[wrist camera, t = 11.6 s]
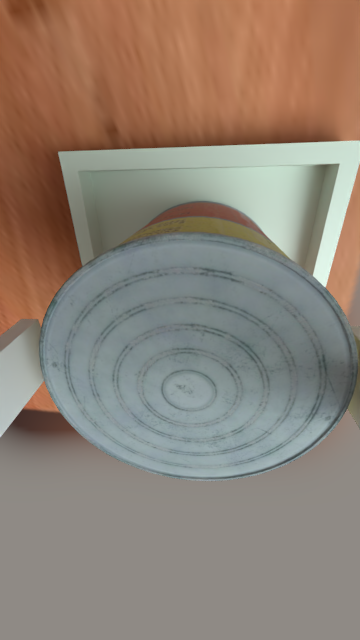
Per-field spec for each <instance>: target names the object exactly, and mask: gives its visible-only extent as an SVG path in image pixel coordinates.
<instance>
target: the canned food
mask: <svg viewBox="0 0 360 640" xmlns="http://www.w3.org/2000/svg"><path fill="white" fill-rule="evenodd" d="M39 359H40V367H41V371H42V375H43V379H44V381H45V384H46V387H47V389H48V391H49V393H50V396H51V398H52V400H53V401H54V403H55V405H56V406H57V408H58V409H59V411H60V412H61V413H62V415H63V416H64V417H65V419H66V420H67V421H68V422H69V423H70V424H71V425H72V427H73V428H74V429H75V430H76V431H77V432H78V433H80V434H81V435H82V436H83V437H84V438H85V439H87V440H88V441H89V442H90V443H92V444H93V445H95V446H96V447H97V448H99V449H100V450H102V451H104V452H105V453H106V454H108V455H110V456H112V457H114V458H116V459H117V460H120V461H122V462H124V463H126V464H128V465H131V466H133V467H136V468H138V469H141V470H144V471H148V472H150V473H154V474H158V475H162V476H167V477H171V478H178V479H185V480H198V481H220V480H231V479H237V478H238V479H239V478H244V477H250V476H254V475H258V474H261V473H265V472H268V471H271V470H274V469H276V468H279V467H281V466H284V465H286V464H288V463H290V462H292V461H294V460H296V459H298V458H299V457H301V456H303V455H304V454H306V453H307V452H309V451H310V450H312V449H313V448H314V447H316V446H317V445H318V444H319V443H320V442H321V441H322V440H324V439H325V438H326V437H327V436H328V434H329V433H330V432H331V431H332V430H333V429H334V428H335V426H336V425H337V424H338V423H339V421H340V420H341V418H342V417H343V415H344V413H345V412H346V410H347V408H348V406H349V404H350V401H351V399H352V397H353V394H354V390H355V386H356V382H357V374H358V354H357V347H356V342H355V338H354V335H353V332H352V329H351V326H350V324H349V322H348V320H347V318H346V315H345V314H344V312H343V310H342V309H341V307H340V306H339V304H338V303H337V301H336V300H335V299H334V297H333V296H332V295H331V294H330V293H329V291H328V290H327V289H326V288H325V287H324V286H323V285H322V284H321V283H320V282H319V281H318V280H317V279H316V278H315V277H314V276H312V275H311V274H310V273H309V272H308V271H306V270H305V269H304V268H302V267H301V266H300V265H298V264H297V263H295V262H294V261H292V260H291V259H290V258H289V257H288V256H287V255H286V254H285V253H284V252H283V251H282V250H281V249H280V248H279V247H278V246H277V245H276V244H275V243H274V242H272V241H271V240H270V239H269V238H268V237H267V236H266V235H265V234H264V232H263V231H262V230H261V228H260V227H259V226H258V225H257V224H256V223H255V222H254V221H253V220H252V219H251V218H250V217H248V216H247V215H246V214H244V213H243V212H241V211H239V210H238V209H236V208H233V207H231V206H229V205H225V204H222V203H218V202H212V201H193V202H187V203H182V204H179V205H176V206H173V207H171V208H169V209H167V210H165V211H164V212H162V213H160V214H159V215H157V216H156V217H155V218H154V219H152V220H151V221H150V222H149V223H148V224H147V225H146V226H144V227H143V228H142V229H140V230H139V231H137V232H136V233H134V234H133V235H132V236H130V237H129V238H127V239H126V240H125V241H123V242H122V243H120V244H119V245H117V246H116V247H114V248H111V249H109V250H107V251H105V252H103V253H102V254H100V255H98V256H97V257H95V258H93V259H92V260H90V261H89V262H87V263H86V264H85V265H84V266H82V267H81V268H80V269H78V270H77V271H76V272H75V273H74V274H73V275H72V276H71V277H70V278H69V279H68V280H67V281H66V282H65V283H64V284H63V285H62V287H61V288H60V289H59V291H58V292H57V293H56V295H55V296H54V298H53V300H52V302H51V303H50V305H49V307H48V309H47V312H46V314H45V317H44V319H43V323H42V327H41V331H40V339H39Z"/></svg>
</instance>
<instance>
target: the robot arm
mask: <svg viewBox="0 0 360 640" xmlns="http://www.w3.org/2000/svg"><path fill="white" fill-rule="evenodd" d="M351 329H352V332H353V335H354V338H355V342H356V347H357V354H358V374H357V382H356V386H355V390H354V394H353V397H352V399H351V401H350V404H349V406H348V408H347V409H348V410H349V412H350V414H351V415H352V417H353V419H354V420H355V422H356V423H357V425H358V427H359V428H360V326H351ZM40 331H41V327H40V324H39V321H38V319H21V320H20V321H18V322H17V323H16V324H15V325H13V326H12V327H11V328H10V329H8V330H7V331H6V332H5V333H3V334H2V335H1V336H0V437H1V436H2V434H3V433H4V432H5V431H6V429H7V428H8V427H9V425H10V424H11V423H12V421H13V420H14V419H15V418H16V416H17V415H18V414H19V412H20V411H21V410H22V409H23V407H24V406H25V405H26V403H27V402H28V401H29V399H30V398H31V397H32V396H33V394H34V393H35V392H36V390H37V389H38V388H39V387H40V385H41V384H42V383H43V381H44V379H43V375H42V371H41V367H40V359H39V339H40Z"/></svg>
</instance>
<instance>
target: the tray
mask: <svg viewBox="0 0 360 640" xmlns="http://www.w3.org/2000/svg"><path fill="white" fill-rule="evenodd" d="M58 154H59V159H60V163H61V168H62V173H63V178H64V182H65V187H66V192H67V197H68V201H69V206H70V211H71V216H72V220H73V225H74V230H75V234H76V239H77V244H78V249H79V253H80V258H81V263H82V266H84V265H85V264H86V263H87V262H89V261H90V260H92V259H93V258H95V257H97V256H98V255H100V254H102V253H103V252H105V251H107V250H109V249H111V248H114V247H116V246H117V245H119V244H120V243H122V242H123V241H125V240H126V239H127V238H129V237H130V236H132V235H133V234H134V233H136V232H137V231H139V230H140V229H142V228H143V227H144V226H146V225H147V224H148V223H149V222H150V221H151V220H152V219H154V218H155V217H156V216H157V215H159V214H160V213H162V212H164V211H165V210H167V209H169V208H171V207H173V206H176V205H179V204H182V203H187V202H193V201H212V202H218V203H222V204H225V205H229V206H231V207H233V208H236V209H238V210H239V211H241V212H243V213H244V214H246V215H247V216H248V217H250V218H251V219H252V220H253V221H254V222H255V223H256V224H257V225H258V226H259V227H260V228H261V230H262V231H263V232H264V234H265V235H266V236H267V237H268V238H269V239H270V240H271V241H272V242H274V243H275V244H276V245H277V246H278V247H279V248H280V249H281V250H282V251H283V252H284V253H285V254H286V255H287V256H288V257H289V258H290V259H291V260H292V261H294V262H295V263H297V264H298V265H300V266H301V267H302V268H304V269H305V270H306V271H308V272H309V273H310V274H311V275H312V276H314V277H315V278H316V279H317V280H318V281H319V282H320V283H321V284H322V285H323V286H324V287H326V284H327V280H328V276H329V273H330V269H331V265H332V262H333V258H334V254H335V251H336V247H337V243H338V240H339V236H340V232H341V229H342V225H343V221H344V218H345V214H346V210H347V207H348V203H349V199H350V196H351V192H352V188H353V185H354V181H355V177H356V174H357V170H358V166H359V163H360V141H337V142H309V143H282V144H255V145H227V146H200V147H172V148H145V149H118V150H90V151H63V152H58Z"/></svg>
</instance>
